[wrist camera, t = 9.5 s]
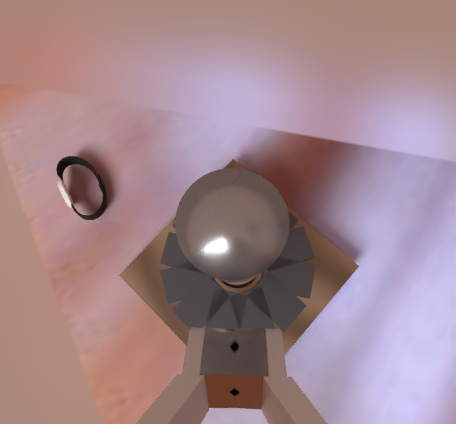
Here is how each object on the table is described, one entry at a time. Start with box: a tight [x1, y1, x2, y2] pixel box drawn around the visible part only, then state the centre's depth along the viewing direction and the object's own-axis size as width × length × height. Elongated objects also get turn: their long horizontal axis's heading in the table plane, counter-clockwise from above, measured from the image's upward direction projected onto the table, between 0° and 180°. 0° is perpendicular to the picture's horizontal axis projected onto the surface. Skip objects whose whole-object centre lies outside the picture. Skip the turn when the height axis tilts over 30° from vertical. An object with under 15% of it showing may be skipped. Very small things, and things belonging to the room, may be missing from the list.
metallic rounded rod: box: [175, 168, 289, 288], centre depth 20 cm, size 3×3×24 cm
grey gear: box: [160, 211, 315, 332], centre depth 24 cm, size 11×11×2 cm
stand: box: [119, 159, 359, 355], centre depth 33 cm, size 17×17×2 cm
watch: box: [57, 156, 106, 220], centre depth 35 cm, size 8×5×4 cm, turn 30°
